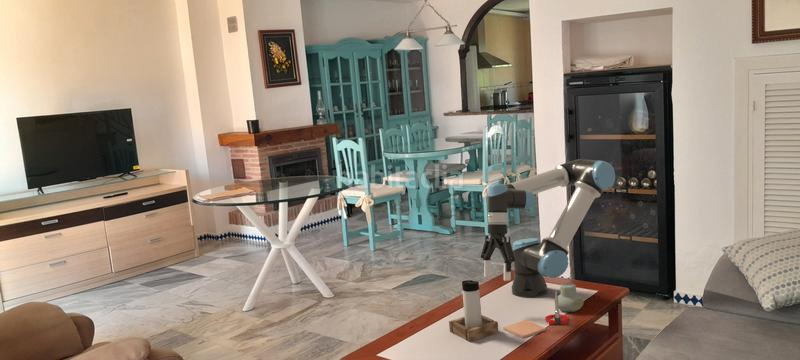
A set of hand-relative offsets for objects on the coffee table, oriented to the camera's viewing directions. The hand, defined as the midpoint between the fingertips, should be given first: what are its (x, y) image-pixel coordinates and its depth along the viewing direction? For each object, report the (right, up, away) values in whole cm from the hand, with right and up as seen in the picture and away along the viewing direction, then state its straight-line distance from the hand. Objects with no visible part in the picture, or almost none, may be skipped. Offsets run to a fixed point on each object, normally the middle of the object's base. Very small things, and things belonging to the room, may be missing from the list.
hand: (497, 278), depth 249 cm
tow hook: (+22, -15, -5) cm, 27 cm away
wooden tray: (-10, -19, -9) cm, 23 cm away
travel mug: (-10, -19, -9) cm, 23 cm away
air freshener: (+29, -13, +4) cm, 32 cm away
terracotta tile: (+8, -17, -12) cm, 22 cm away
